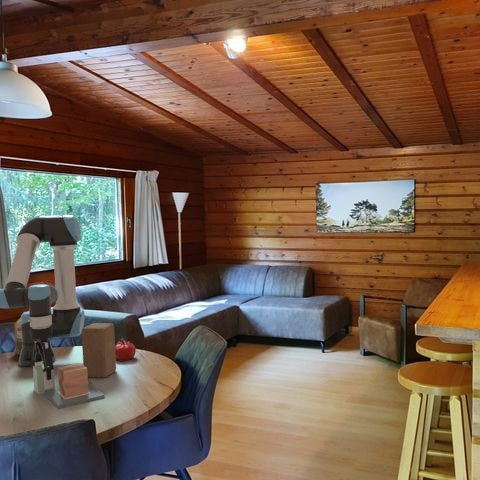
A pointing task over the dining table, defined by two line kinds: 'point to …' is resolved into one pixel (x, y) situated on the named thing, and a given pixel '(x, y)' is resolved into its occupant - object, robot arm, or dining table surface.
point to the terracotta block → (73, 380)
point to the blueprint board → (64, 402)
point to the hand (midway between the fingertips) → (44, 383)
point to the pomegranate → (124, 351)
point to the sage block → (40, 379)
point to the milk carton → (18, 336)
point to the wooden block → (99, 349)
